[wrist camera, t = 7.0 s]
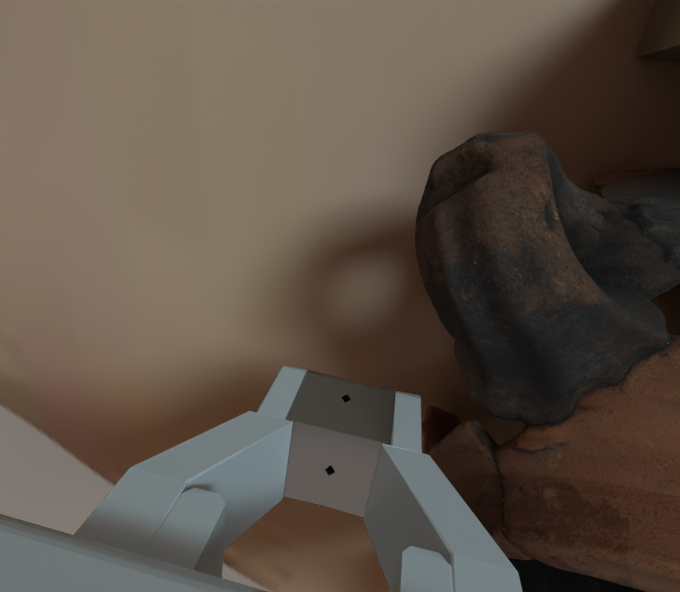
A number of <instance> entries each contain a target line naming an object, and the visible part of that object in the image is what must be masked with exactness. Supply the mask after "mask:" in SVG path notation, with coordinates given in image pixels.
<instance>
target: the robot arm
mask: <svg viewBox="0 0 680 592" xmlns="http://www.w3.org/2000/svg"><path fill="white" fill-rule="evenodd" d="M283 496H284V497H288V498H292V499H297V500H301V501H305V502H310V503H314V504H318V505H322V506H326V507H329V508H333V509H336V510H339V511H343V512H346V513H350V514H353V515H356V516H360V517H363V521H364V524H365V526H366V529H367V531H368V534H369V537H370V539H371V542H372V544H373V547H374V549H375V552H376V554H377V557H378V560H379V562H380V565H381V567H382V570H383V572H384V575H385V578H386V580H387V583H388V585H389V588H390V590H389V592H522V587H521V583H520V578H519V574H518V571H517V570H516V569H515V567H514V566H513V565H512V564H511V562H510V561H509V560H508V558H507V557H506V556H505V554H504V553H503V552H502V550H501V549H500V548H499V546H498V545H497V544H496V542H495V541H494V540H493V538H492V537H491V536H490V534H489V533H488V532H487V531H486V529H485V528H484V527H483V525H482V524H481V523H480V521H479V520H478V519H477V517H476V516H475V515H474V513H473V512H472V511H471V509H470V508H469V507H468V505H467V504H466V503H465V501H464V500H463V499H462V497H461V496H460V495H459V494H458V492H457V491H456V490H455V488H454V487H453V486H452V484H451V483H450V482H449V480H448V479H447V478H446V476H445V475H444V474H443V472H442V471H441V470H440V468H439V467H438V466H437V464H436V463H435V462H434V461H433V459H432V458H431V457H430V455H427V454H423V453H422V438H421V398H420V396H419V395H416V394H411V393H406V392H401V391H396V390H395V391H393V390H388V389H384V388H379V387H375V386H370V385H366V384H361V383H356V382H354V381H350V380H346V379H342V378H338V377H334V376H331V375H327V374H323V373H319V372H315V371H311V370H307V369H303V368H298V367H294V366H290V365H284V366H283V367H281V369H280V371H279V373H278V375H277V376H276V378H275V380H274V382H273V383H272V385H271V387H270V389H269V391H268V392H267V394H266V396H265V398H264V400H263V401H262V403H261V405H260V407H259V408H258V410H257V412H252V411H248V412H246V413H244V414H242V415H239V416H237V417H235V418H233V419H231V420H229V421H227V422H225V423H223V424H220V425H218V426H216V427H214V428H212V429H210V430H208V431H206V432H204V433H202V434H199V435H197V436H195V437H193V438H191V439H189V440H187V441H185V442H183V443H180V444H178V445H176V446H174V447H172V448H170V449H168V450H166V451H164V452H162V453H159V454H157V455H155V456H153V457H151V458H149V459H147V460H145V461H143V462H141V463H138V464H136V465H134V466H132V467H130V468H129V469H128V471H127V472H126V473H125V474H124V475H123V477H122V478H121V479H120V480H119V481H118V483H117V484H116V485H115V486H114V487H113V489H112V490H111V491H110V492H109V493H108V495H107V496H106V497H105V498H104V499H103V501H102V502H101V503H100V504H99V505H98V506H97V508H96V509H95V510H94V511H93V512H92V514H91V515H90V516H89V517H88V518H87V520H86V521H85V522H84V523H83V524H82V526H81V527H80V528H79V529H78V530H77V532H76V533H75V534H74V535H70V534H67V533H64V532H60V531H57V530H53V529H50V528H46V527H43V526H40V525H36V524H32V523H29V522H25V521H22V520H19V519H15V518H12V517H8V516H5V515H2V514H0V592H267V591H263V590H260V589H257V588H253V587H249V586H246V585H243V584H239V583H236V582H233V581H229V580H226V579H222V565H223V550H225V549H226V548H227V547H228V546H229V545H230V544H231V543H233V542H234V541H235V540H236V539H237V538H238V537H240V536H241V535H242V534H243V533H244V532H245V531H246V530H248V529H249V528H250V527H251V526H252V525H253V524H255V523H256V522H257V521H258V520H259V519H260V518H262V517H263V516H264V515H265V514H266V513H267V512H268V511H270V510H271V509H272V508H273V507H274V506H275V505H277V504H278V503H279V502H280V501H281V500H282V499H283Z"/></svg>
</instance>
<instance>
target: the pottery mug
mask: <svg viewBox="0 0 680 592" xmlns="http://www.w3.org/2000/svg"><path fill="white" fill-rule="evenodd" d="M592 191H593V193H590V192H587V191H585V190H582V189H581V188H579V187H578V186H576V185H575V184H574V183H573V182H571V181H569V180H568V179H567V177H566V175H565V174H564V172H563V170H562V168H561V166H560V163H559V161H558V159H557V156H556V154H555V153H554V151H553V149H552V148H551V147H550V145H549V144H548V143H547V141H546V140H545V139H544V138H543V136H542V135H541V134H539V133H538V132H536V131H534V130H523V131H518V132H511V133H499V132H492V133H482V134H478V135H475V136H474V137H472V138H470V139H469V140H467V141H466V142H465V143H463V144H461V145H460V146H458V147H457V148H455V149H453V150H451V151H449V152H447V153H445V154H444V155H442V156H440V157H439V158H438V159H437V160H436V161H435V163H434V164H433V166H432V168H431V170H430V174H429V177H428V181H427V184H426V186H425V190H424V194H423V196H422V200H421V202H420V205H419V208H418V214H417V219H416V233H415V245H416V253H417V260H418V265H419V270H420V273H421V276H422V279H423V282H424V286H425V289H426V291H427V293H428V295H429V297H430V299H431V302H432V304H433V306H434V308H435V310H436V312H437V314H438V316H439V318H440V321H441V322H442V324H443V325H444V326H445V328H446V329H447V330H448V332H449V333H450V334H451V336H452V337H453V338H455V343H454V352H455V357H456V359H457V361H458V363H459V366H460V369H461V372H462V375H463V378H464V381H465V384H466V388H467V390H468V393H469V395H470V397H471V398H472V400H473V401H474V402H475V403H476V404H477V405H478V406H479V407H480V408H481V409H482V410H483V411H485V412H486V413H488V414H490V415H492V416H495V417H498V418H500V419H503V420H516V421H522V422H524V423H525V425H524V427H523V429H522V431H521V432H520V433H519V434H518V435H517V436H516V437H514V438H512V439H510V440H508V441H507V442H505V443H504V444H502V445H497V444H496V442H495V441H494V440H493V438H492V437H491V436H490V434H489V433H488V431H487V430H486V428H485V427H484V426H483V425H482V424H481V423H480V422H478V421H475V420H468V421H465V422H462V423H461V422H460V420H459V419H458V418H457V417H456V416H455V415H453V414H451V413H448V412H447V411H445V410H443V409H440V408H437V407H434V406H429V407H427V409H426V416H425V418H424V421H423V423H422V431H423V433H424V437H425V444H424V451H425V454H427V455H430V457H431V458H432V459H433V461H434V462H435V463H436V464H437V466H438V467H439V468H440V470H441V471H442V472H443V474H444V475H445V476H446V478H447V479H448V480H449V482H450V483H451V484H452V486H453V487H454V488H455V490H456V491H457V492H458V494H459V495H460V496H461V497H462V499H463V500H464V501H465V503H466V504H467V505H468V507H469V508H470V509H471V511H472V512H473V513H474V515H475V516H476V517H477V519H478V520H479V521H480V523H481V524H482V525H483V527H484V528H485V529H486V531H487V532H488V533H489V534H490V536H491V537H492V538H493V540H494V541H495V542H496V544H497V545H498V546H499V548H500V549H501V550H502V552H503V553H504V554H505V556H506V557H507V558H508V560H509V561H510V562H511V564H512V565H513V566H514V567H515V569H516V570H517V571H518V574H519V578H520V583H521V587H522V592H680V334H678V335H673V334H669V333H668V332H667V331H666V321H665V317H664V315H663V313H662V312H661V311H660V310H659V308H658V307H657V306H656V305H655V304H654V303H652V302H651V301H650V300H652V299H654V298H655V297H656V296H658V295H659V294H662V293H664V292H667V291H669V290H670V289H671V288H672V287H679V288H680V168H657V169H651V170H629V171H623V172H615V173H609V174H603V175H598V176H597V177H595V178H594V179H593V181H592Z"/></svg>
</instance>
